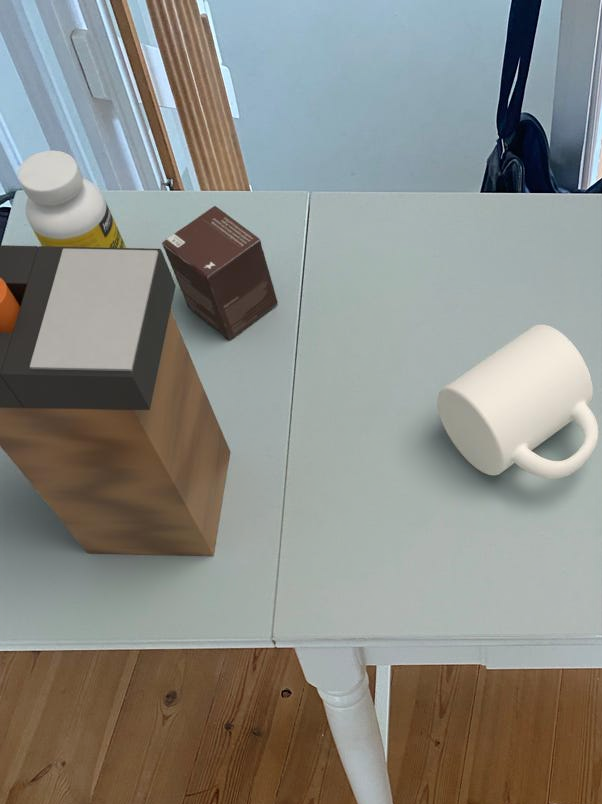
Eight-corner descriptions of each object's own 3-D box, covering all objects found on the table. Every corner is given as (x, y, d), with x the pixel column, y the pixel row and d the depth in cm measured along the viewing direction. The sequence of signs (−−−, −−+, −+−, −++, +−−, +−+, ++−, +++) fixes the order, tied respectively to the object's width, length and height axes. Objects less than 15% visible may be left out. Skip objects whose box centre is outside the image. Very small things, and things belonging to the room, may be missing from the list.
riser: (87, 553, 69) (-33, 407, 53) (111, 448, 73) (6, 282, 57) (213, 556, 69) (133, 410, 53) (230, 451, 73) (160, 285, 57)
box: (280, 305, 80) (262, 239, 73) (229, 342, 78) (206, 278, 71) (236, 270, 81) (215, 203, 75) (185, 306, 80) (159, 240, 73)
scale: (-49, 406, 53) (-80, 370, 50) (-9, 281, 57) (-35, 241, 54) (150, 410, 53) (131, 374, 50) (176, 285, 57) (160, 245, 54)
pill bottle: (132, 310, 79) (79, 200, 69) (60, 309, 79) (-3, 198, 69) (144, 257, 82) (95, 143, 71) (75, 256, 82) (15, 141, 71)
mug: (437, 433, 74) (434, 369, 67) (524, 372, 77) (530, 304, 70) (533, 525, 71) (540, 468, 63) (621, 458, 73) (637, 396, 66)
